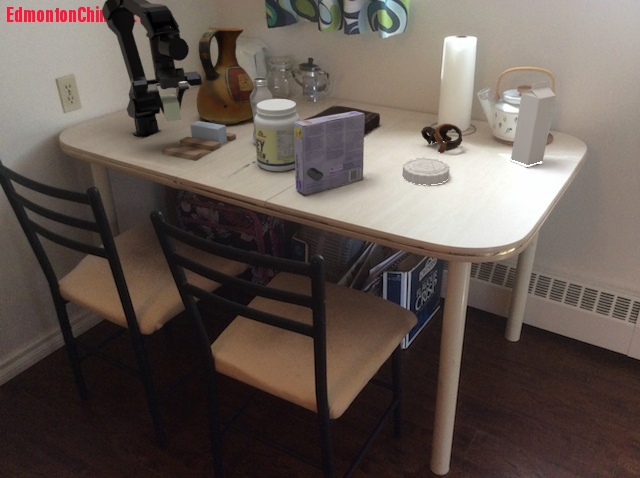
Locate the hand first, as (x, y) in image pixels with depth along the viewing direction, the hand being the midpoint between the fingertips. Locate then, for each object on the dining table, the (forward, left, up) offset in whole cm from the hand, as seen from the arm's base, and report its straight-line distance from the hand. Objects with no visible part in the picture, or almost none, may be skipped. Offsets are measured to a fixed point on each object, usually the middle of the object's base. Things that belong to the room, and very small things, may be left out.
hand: (171, 112), depth 163 cm
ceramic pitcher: (-2, +30, -12) cm, 32 cm away
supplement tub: (+33, +4, -12) cm, 35 cm away
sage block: (0, 0, -1) cm, 1 cm away
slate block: (+6, +8, -11) cm, 15 cm away
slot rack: (+6, +4, -12) cm, 13 cm away
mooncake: (+72, +13, -12) cm, 74 cm away
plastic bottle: (+22, +14, -12) cm, 28 cm away
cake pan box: (+52, -2, -12) cm, 53 cm away
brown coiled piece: (+70, +35, -12) cm, 79 cm away
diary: (+36, +35, -12) cm, 51 cm away
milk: (+94, +34, -12) cm, 101 cm away
